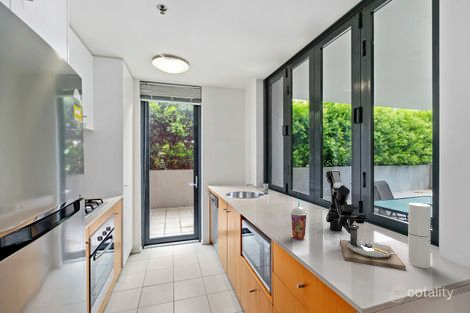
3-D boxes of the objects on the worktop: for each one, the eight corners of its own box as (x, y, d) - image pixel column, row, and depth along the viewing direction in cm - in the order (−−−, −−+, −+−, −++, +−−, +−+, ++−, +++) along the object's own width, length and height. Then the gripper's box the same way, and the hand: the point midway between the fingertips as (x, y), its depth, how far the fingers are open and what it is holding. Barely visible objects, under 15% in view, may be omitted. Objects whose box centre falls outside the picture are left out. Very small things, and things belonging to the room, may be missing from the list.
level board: (344, 259, 96) (344, 256, 96) (340, 242, 116) (340, 238, 116) (406, 269, 88) (406, 265, 88) (390, 248, 108) (390, 245, 108)
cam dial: (350, 254, 97) (350, 231, 97) (345, 240, 113) (346, 220, 113) (396, 261, 91) (396, 236, 91) (385, 246, 107) (385, 224, 107)
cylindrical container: (403, 260, 96) (404, 202, 96) (419, 259, 97) (419, 202, 97) (418, 268, 89) (419, 206, 89) (435, 267, 90) (435, 206, 90)
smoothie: (306, 236, 125) (306, 200, 125) (306, 241, 117) (306, 203, 117) (291, 234, 127) (291, 199, 127) (290, 239, 120) (290, 202, 120)
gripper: (327, 197, 115) (334, 224, 104) (365, 198, 113) (376, 226, 102) (323, 208, 123) (329, 235, 111) (358, 209, 121) (368, 237, 109)
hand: (350, 233), depth 108 cm, fingers closed
